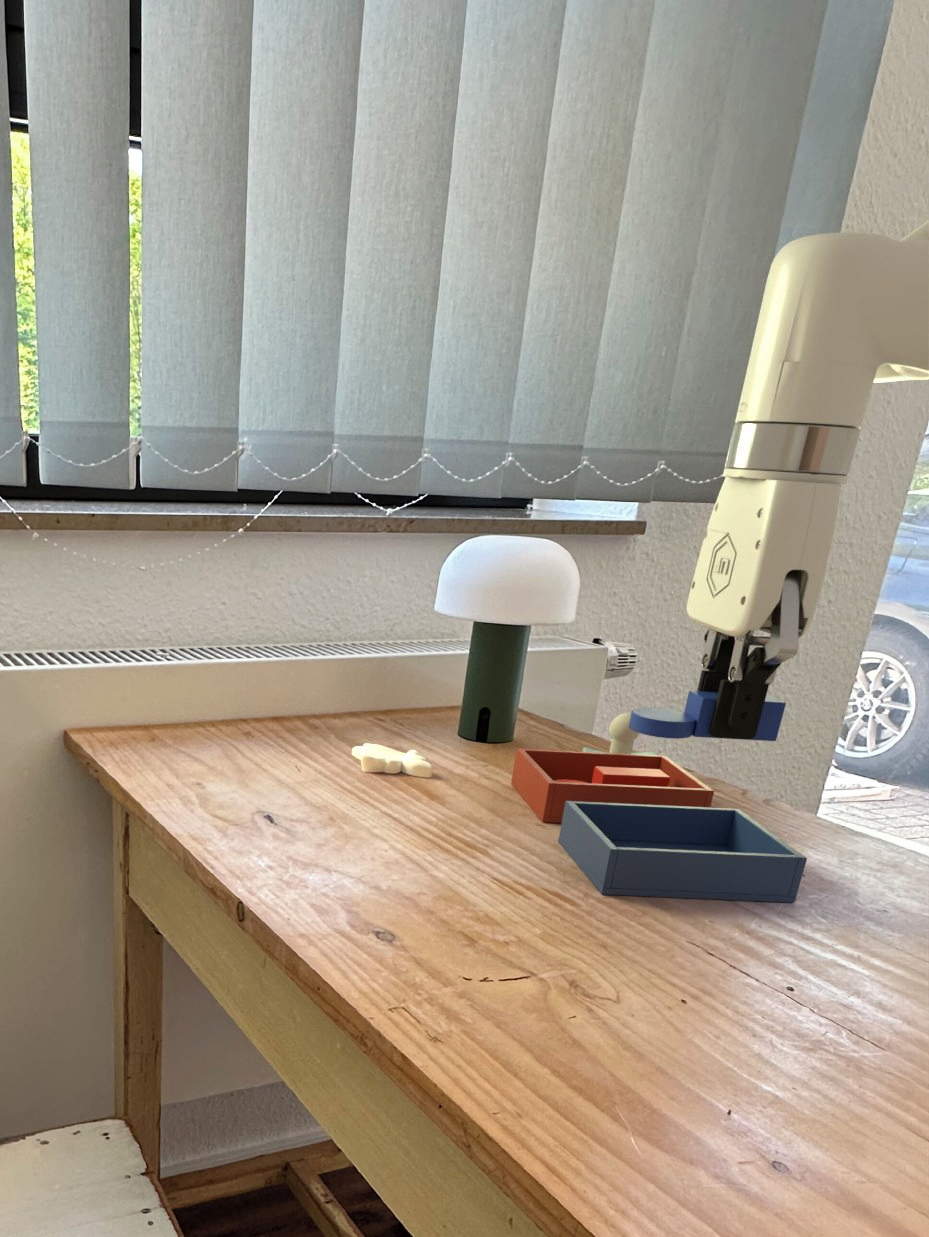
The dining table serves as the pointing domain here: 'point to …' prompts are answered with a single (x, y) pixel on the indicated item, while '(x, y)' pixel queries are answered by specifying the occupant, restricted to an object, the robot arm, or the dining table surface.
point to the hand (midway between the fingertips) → (721, 729)
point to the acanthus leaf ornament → (391, 760)
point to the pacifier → (621, 737)
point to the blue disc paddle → (701, 718)
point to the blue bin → (679, 852)
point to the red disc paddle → (627, 777)
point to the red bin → (549, 797)
